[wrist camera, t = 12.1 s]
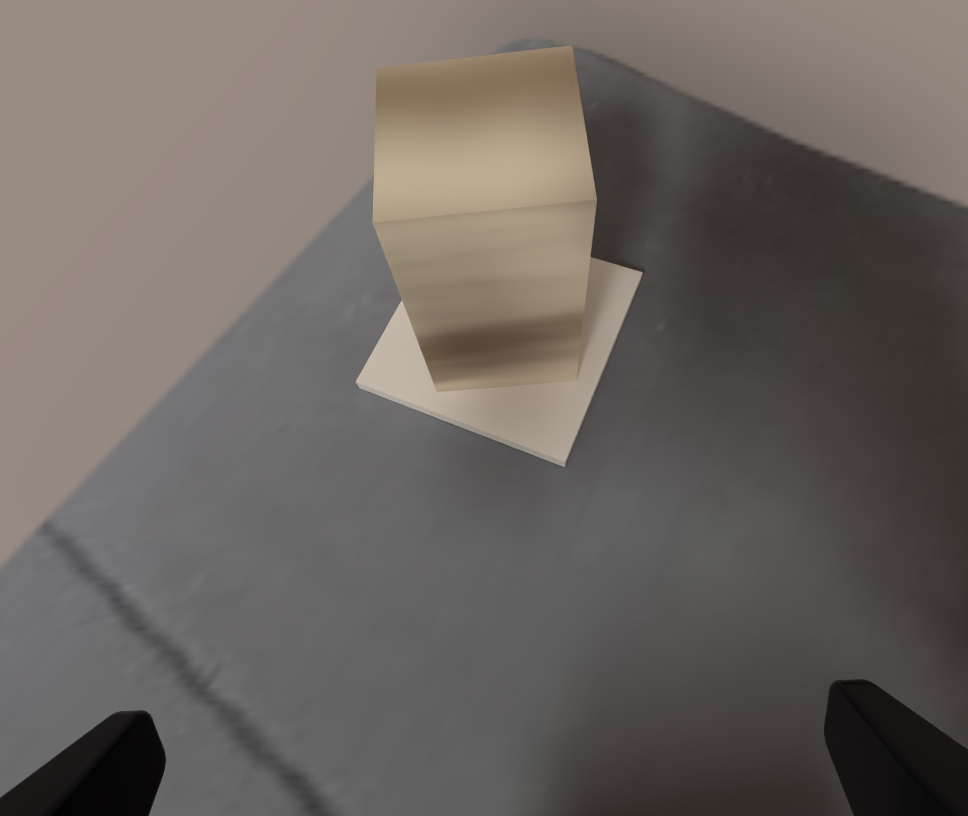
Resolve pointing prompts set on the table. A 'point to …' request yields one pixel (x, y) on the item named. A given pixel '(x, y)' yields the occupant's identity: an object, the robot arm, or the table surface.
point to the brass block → (487, 213)
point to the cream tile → (513, 409)
